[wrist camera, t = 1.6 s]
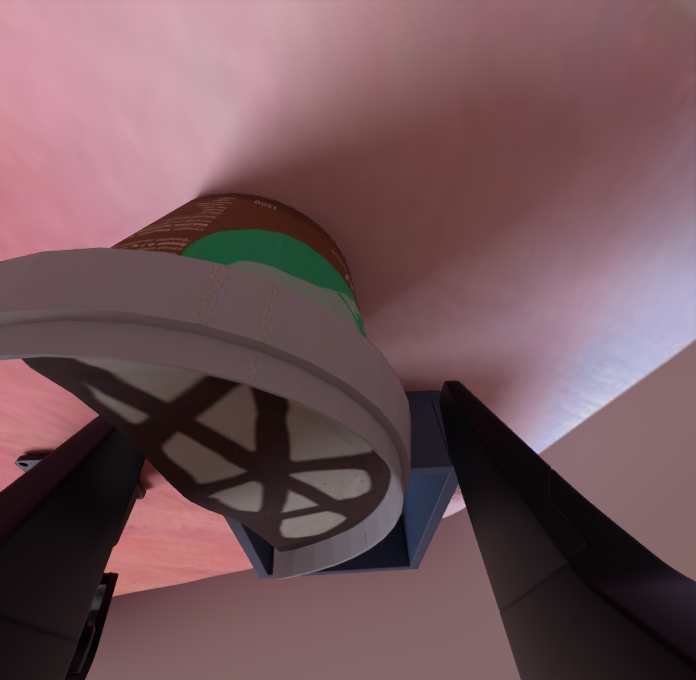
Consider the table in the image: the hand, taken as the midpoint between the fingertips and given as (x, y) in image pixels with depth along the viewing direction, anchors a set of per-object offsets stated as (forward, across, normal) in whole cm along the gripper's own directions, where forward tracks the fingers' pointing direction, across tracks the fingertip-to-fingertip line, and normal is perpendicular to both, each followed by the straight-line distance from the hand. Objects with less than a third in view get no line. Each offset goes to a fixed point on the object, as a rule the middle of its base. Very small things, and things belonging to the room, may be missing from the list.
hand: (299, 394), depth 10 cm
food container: (+7, 0, 0) cm, 7 cm away
